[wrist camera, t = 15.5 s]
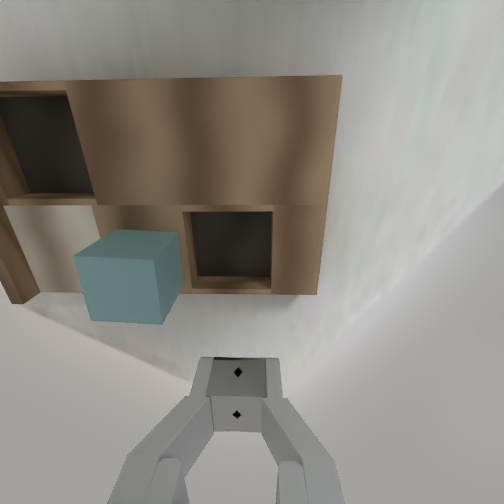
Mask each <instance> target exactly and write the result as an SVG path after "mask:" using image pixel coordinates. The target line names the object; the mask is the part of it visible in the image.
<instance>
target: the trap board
mask: <svg viewBox="0 0 504 504" xmlns="http://www.w3.org/2000/svg"><path fill="white" fill-rule="evenodd" d="M341 83H342V75H329V76H278V77H226V78H175V79H124V80H72V81H21V82H0V281H1V283H2V285H3V287H4V289H5V291H6V293H7V295H8V297H9V299H10V301H11V303H12V304H24V303H26V302H27V301H29V300H30V299H31V298H33V297H34V296H36V295H37V294H39V293H40V292H78V293H83V291H82V287H81V284H80V280H79V276H78V273H77V269H76V266H75V262H74V259H73V255H75V254H77V253H78V252H80V251H81V250H83V249H85V248H86V247H88V246H89V245H91V244H93V243H94V242H96V241H98V240H99V239H101V238H102V237H104V236H106V235H107V234H109V233H110V232H112V231H114V230H115V229H124V230H142V231H161V232H178V236H179V248H180V260H181V272H182V284H183V286H182V288H181V290H180V292H179V293H183V294H289V295H317V288H318V279H319V271H320V262H321V254H322V245H323V237H324V228H325V220H326V211H327V203H328V194H329V186H330V177H331V168H332V160H333V151H334V143H335V134H336V126H337V117H338V109H339V100H340V92H341Z"/></svg>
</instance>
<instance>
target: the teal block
mask: <svg viewBox="0 0 504 504" xmlns="http://www.w3.org/2000/svg"><path fill="white" fill-rule="evenodd" d="M73 259H74V262H75V266H76V269H77V273H78V276H79V280H80V284H81V287H82V291H83V294H84V298H85V301H86V305H87V308H88V312H89V315H90V319H91V320H93V321H111V322H128V323H145V324H163V322H164V320H165V318H166V316H167V314H168V312H169V311H170V309H171V307H172V305H173V303H174V301H175V299H176V297H177V296H178V294H179V292H180V290H181V288H182V286H183V284H182V272H181V260H180V248H179V236H178V232H161V231H142V230H124V229H115V230H114V231H112V232H110V233H109V234H107V235H106V236H104V237H102V238H101V239H99V240H98V241H96V242H94V243H93V244H91V245H89V246H88V247H86V248H85V249H83V250H81V251H80V252H78V253H77V254H75V255H73Z"/></svg>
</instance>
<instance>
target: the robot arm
mask: <svg viewBox="0 0 504 504" xmlns="http://www.w3.org/2000/svg"><path fill="white" fill-rule="evenodd" d="M214 431H242V432H261V433H262V436H263V438H264V439H265V442H266V443H267V446H268V448H269V449H270V451H271V453H272V455H273V457H274V459H275V461H276V463H277V465H278V478H277V492H276V504H345V502H344V497H343V493H342V489H341V485H340V481H339V476H338V472H337V468H336V464H335V461H334V459H333V458H332V457H331V456H330V454H329V453H328V452H327V450H326V449H325V448H324V446H323V445H322V444H321V443H320V441H319V440H318V439H317V437H316V436H315V435H314V433H313V432H312V430H311V429H310V428H309V427H308V425H307V424H306V423H305V421H304V420H303V419H302V417H301V416H300V415H299V413H298V412H297V411H296V409H295V408H294V407H293V405H292V404H291V403H290V401H289V400H288V399H287V398H283V393H282V383H281V372H280V362H279V359H278V358H228V357H201V358H200V360H199V363H198V367H197V371H196V374H195V378H194V382H193V385H192V389H191V393H190V396H185V397H184V398H183V399H182V400H181V401H180V402H179V403H178V404H177V405H176V407H174V408H173V409H172V411H170V413H169V414H168V415H167V416H166V417H165V418H164V419H163V420H162V421H161V422H160V423H159V424H158V425H157V426H156V427H155V428H154V429H153V430H152V431H151V432H150V433H149V434H148V435H147V436H146V437H145V438H144V439H143V440H142V441H141V442H140V443H139V444H138V445H137V446H136V447H135V448H134V449H133V450H132V451H131V452H130V453H129V454H128V455H127V458H126V460H125V462H124V465H123V467H122V469H121V472H120V474H119V477H118V479H117V481H116V484H115V486H114V489H113V491H112V493H111V496H110V498H109V500H108V503H107V504H190V503H189V499H188V494H187V490H186V485H185V480H184V478H185V476H186V475H187V473H188V472H189V470H190V469H191V467H192V465H193V464H194V463H195V461H196V459H197V458H198V457H199V455H200V453H201V452H202V450H203V449H204V447H205V446H206V444H207V443H208V441H209V440H210V438H211V437H212V435H213V434H214Z"/></svg>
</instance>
